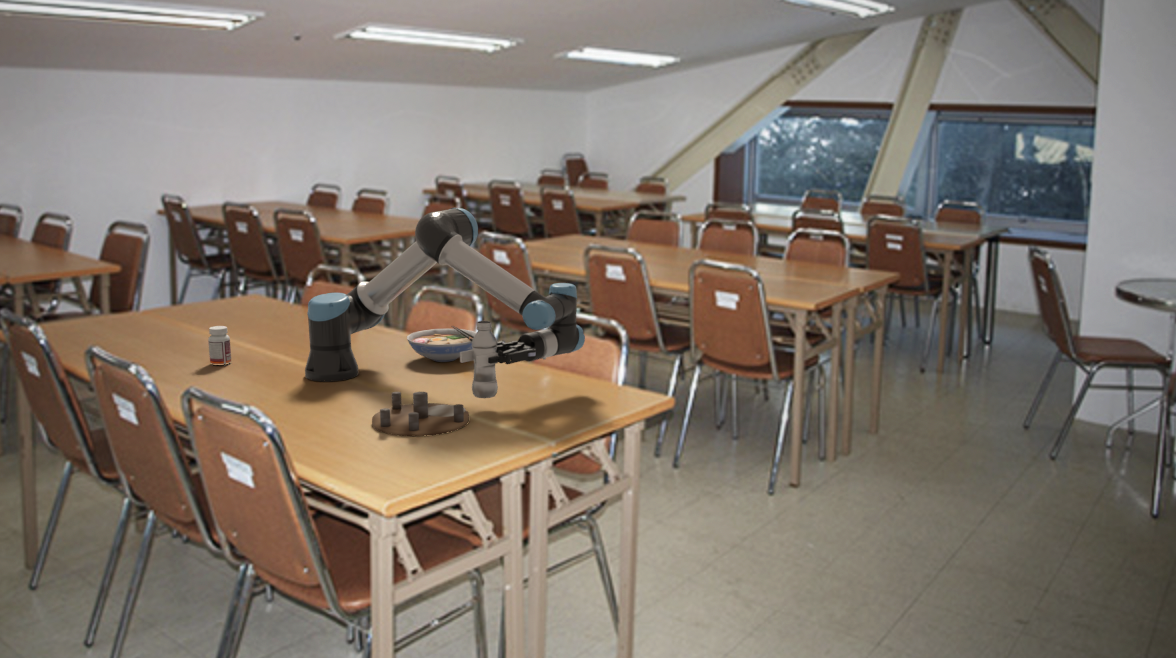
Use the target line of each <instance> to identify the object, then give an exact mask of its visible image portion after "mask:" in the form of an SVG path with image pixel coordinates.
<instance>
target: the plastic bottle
mask: <svg viewBox="0 0 1176 658" xmlns="http://www.w3.org/2000/svg"><path fill="white" fill-rule="evenodd" d="M476 330H477V333H476V335H475V336H474V338H473V340H472V349H473V356H474V360H473V378H472V383H471V384H472V385H471V391H472V394H473V397H475V398H479V399H490V398H494V397H496V395H497V393H498V387H499V386H498V381H497V373H496V364H492V365H487V366H483V367H476V357H477V356H481V355H486V354H491V353H496V351H497V342H498V340H497V337H496V336H495V334H494V332H492V330H493V326H492V322H491V321H489V320H479V321H477V322H476Z"/></svg>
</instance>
